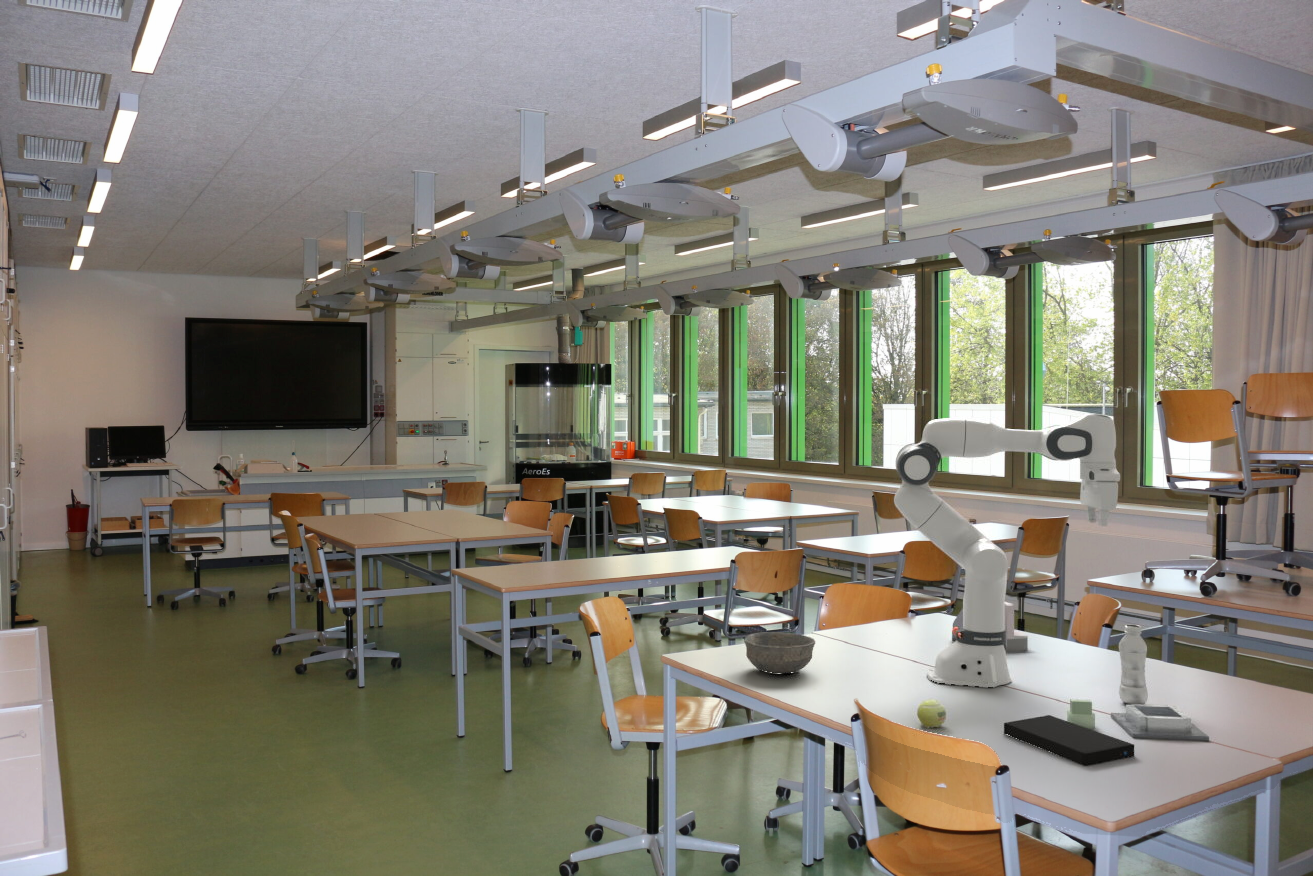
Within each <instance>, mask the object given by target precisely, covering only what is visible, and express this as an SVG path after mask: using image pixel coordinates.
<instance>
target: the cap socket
mask: <svg viewBox="0 0 1313 876" xmlns="http://www.w3.org/2000/svg"><path fill="white" fill-rule="evenodd" d="M1110 718H1111V719H1113V721H1115V723H1117V724H1118V725H1119V726H1120V727H1121V728H1122V729H1123V730H1124V731H1125V732H1126V733H1127V734H1128V735H1130V736H1131V738H1133V739H1149V740H1150V739H1152V740H1153V739H1154V740H1156V739H1157V740H1176V741H1177V740H1179V741H1197V742H1198V741H1199V742H1210V736H1209V735H1208V734H1206V733H1205V732H1204V731H1203V730H1201V729H1200V728H1198V727H1197V726H1196V725H1194V723H1193V722H1192V718H1191V717H1190V716H1189V715H1187V714H1186V713H1185V712H1183V711H1182V710H1181V709H1179V708H1178V707H1176V706H1172V705H1168V704H1146V703H1145V704H1132V705H1131V704H1125V712H1110Z"/></svg>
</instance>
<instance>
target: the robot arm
mask: <svg viewBox="0 0 1313 876" xmlns="http://www.w3.org/2000/svg"><path fill="white" fill-rule="evenodd" d="M1116 448H1117V433H1116V426H1115V421H1114V419H1112V418H1111V417H1110V416H1108V415H1105V414H1099V413H1091V412H1087V413H1084V414H1083V415H1082V416H1080V417H1078V418H1076V419H1074V420H1072V421H1069V422H1067V423H1064V424H1053V425H1051V426H1048V427H1045V428H1042V429H1037V430H1035V429H1034V430H1033V429H1031V430H1030V429H1011V428H1005V427H1001V426H999V425H997V424H995V423H993V422H991V421H987V420H983V419H978V418H972V417H971V418H970V417H969V418H968V417H950V418H949V417H947V418H938V419H932V420H930V421H928V422H927V423H926V425H925V426H924V428H923V431H922V437H921V441H919V442H918V443H915V442H913V443H909V444H906V445H905V446H903V447H902V448H901V449H899V451H898V453H897V456H896V458H895V469H896V472H897V474H898V476H899V477H900V480H901V485H900V486H899V488H898V489H897V490H896V491H895V494H894V497H893V503H894V506H895V507H896V509H897V510H898V511H899V513H900V514H901V515H902V516H903V517H904V519H906V520H907V522H908V523H909V524H911V525H912V526H913V528H915V529H916V530H918V532H920V533H921V534H922V535H923V536H924V537H925V538H927V539H928V540H929V541H930V542H932V543H933V545H935V546H936V547H937V548H938V549H939V550H941V551H942V552H943V553H944V554H945V555H947V556H948V557H949V558H951V559H952V560H953V561H954V562H955V563H956V564H958V565H959V566H960V567H961V568H962V569H964V572H965V577H964V591H963V599H962V609H963V627H962V628H960V629H958V627H954V629H953V628H952V629H951V633H952V632H953V633H954V634H955V635H956V641H955V642H953V643H951V644H949V645H948V646H947V647H945V648H944V649H942V650H941V651H939V653H938V654H937V656H936V659H935V662H934V663H935V664H934V667H932V668H929V669H928V670H927V672H926V677H927V676H928V677H927V678H928V679H929V681H931V680H932V681H931V682H933V681H934V682H933V683H935V682H937V683H936V684H939V683H945V684H944V685H951V684H955V685H954V686H963V685H968V686H967V687H975V686H979V688H988V687H993V688H996V687H998V686H1003V685H1007V684H1009V683H1011V682H1012V678H1011V675H1010V672H1009V666H1008V662H1007V652H1006V647H1007V634H1006V630H1005V602H1006V601H1005V600H1006V592H1007V585H1008V584H1007V583H1008V568H1009V562H1008V557H1007V554H1006V553H1005V552H1004V550H1003V549H1002V548H1000V547H999V546H998V545H997V544H995V543H994V542H992V541H991V540H990V539H989V538H988V537H987V536H985V534H984V533H982V531H980V530H979V529H978V528H976V527H975V526H974V525H973V524H971V522H969V521H968V520H967V519H966V518H965V517H964V516H962V514H960V513H959V512H958V511H957V510H956V509H954V508H953V507H952V506H951V505H949V504H948V503H947V502H946V501H945V500H944V499H943V498H941V496H939V495H938V494H937V493H935V492H934V490H933V489H932V488H931V487H930V484H929V482H930V481H931V480H933V478H934V477H935V475H936V473H937V471H938V468H939V466H940V463H941V460H942V459H943V458H949V457H950V458H952V457H954V458H955V457H956V458H967V459H969V458H972V459H973V458H983V457H984V458H985V457H989V456H992V455H995V454H997V453H1002V452H1020V453H1035V454H1039V455H1040V456H1043V457H1045V458H1046V459H1049V460H1053V461H1062V462H1063V461H1066V462H1067V461H1071V460H1073V459H1074V460H1075V459H1079V462H1080V463H1079V479H1080V480H1081V482H1080V492H1079V493H1080V494H1079V495H1080V496H1079V501H1080V504H1081V505H1083V506H1085V507H1086V508H1085V509H1086V513H1087V522H1088V523H1091V524H1093V523H1095V524H1096V523H1097V516H1096V509H1099V519H1098V525H1099V526H1100V527H1107V526H1108V520H1109V516H1110V511H1115V510H1116V508H1117V506H1118V498H1119V497H1118V496H1119V483H1118V482H1120V481H1121V473H1120V472H1119V471H1118V470H1117V461H1116V458H1115V457H1116V456H1115V451H1116Z"/></svg>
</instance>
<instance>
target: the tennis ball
mask: <svg viewBox="0 0 1313 876" xmlns="http://www.w3.org/2000/svg"><path fill="white" fill-rule="evenodd" d="M916 715H917V719H918V720H919V722H920V723H921V724H922V726H924V727H925V726H926V727H937V728H939V726H940V727H942V725H943V724H944V723H945V721H946V718H947V711H946V708H945V707H944V705H943V704H941V702H940V701H938V700H935V699H933V698H932V699H926V700H924V701H922V702H921V703H920V704H919V705H918V707H917V714H916ZM926 727H925V728H926Z"/></svg>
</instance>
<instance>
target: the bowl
mask: <svg viewBox="0 0 1313 876" xmlns="http://www.w3.org/2000/svg"><path fill="white" fill-rule="evenodd" d="M743 640H744V645H745V648H746V658H747V659H748V661H749V662H750V663H751V664H752V665H753V667H755V668H756V669H758V670H759V669H760V670H759V671H761V670H763V671H762V672H764V671H767V672H772V673H791V672H794V673H796V671H797V672H799V671H801V670H803V669H804V668H806V666H807V665H808V664H809V663H810V662H811V660H812V658H813V651H814V647H815V644H816V640H815V639H814V638H812V637H810V636H807V635H804V634H803V635H802V634H797V633H788V632H775V631H771V632H767V631H766V632H763V631H762V632H755V633H751V634H748V635H746V636H745V637H744V638H743ZM767 672H766V673H767ZM791 674H792V673H791Z"/></svg>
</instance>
